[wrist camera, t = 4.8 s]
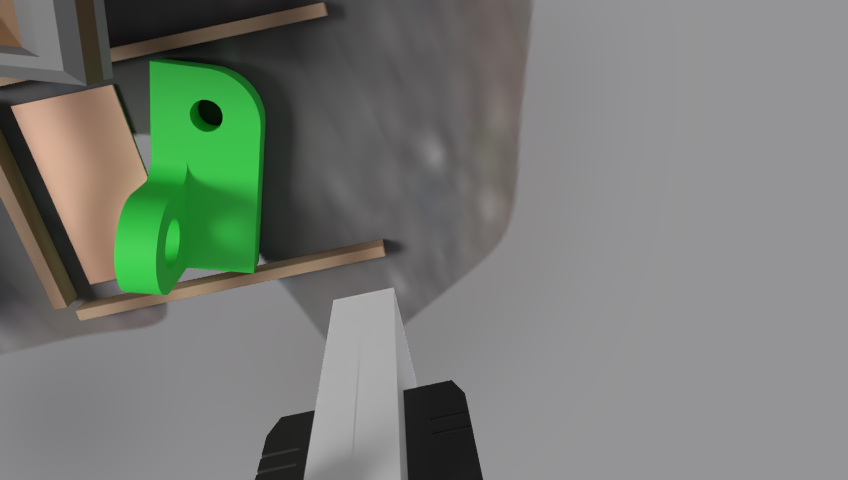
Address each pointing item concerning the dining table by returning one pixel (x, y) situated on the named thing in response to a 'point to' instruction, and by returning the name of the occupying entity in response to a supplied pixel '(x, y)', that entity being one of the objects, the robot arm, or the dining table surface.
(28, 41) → the sailing ship
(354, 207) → the dining table surface
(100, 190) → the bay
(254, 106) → the mechanical part
